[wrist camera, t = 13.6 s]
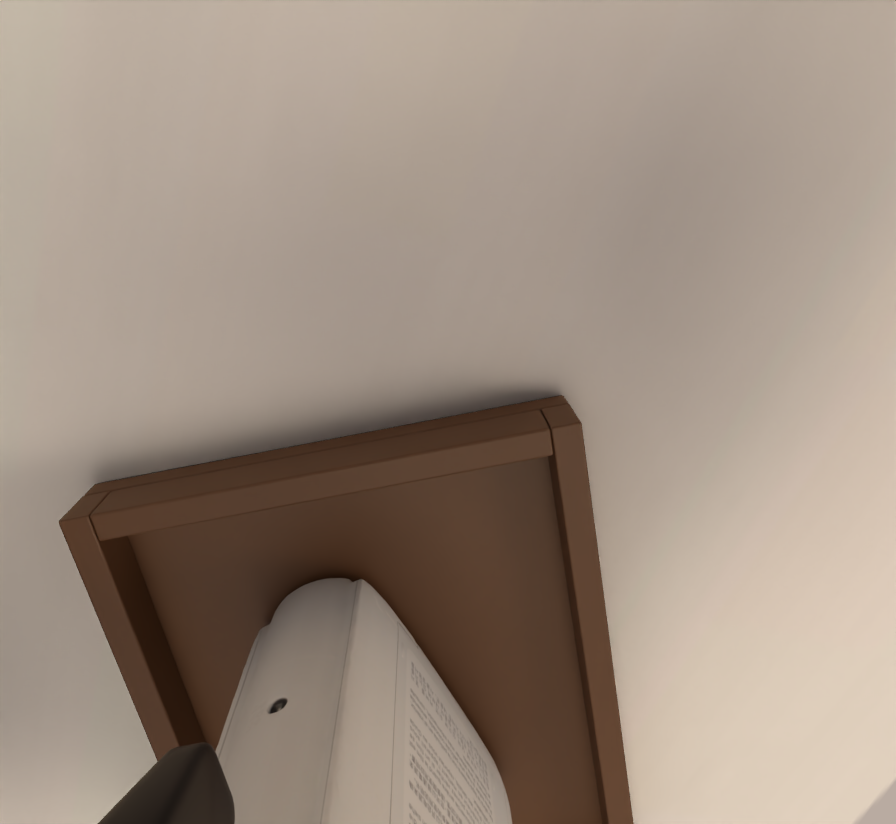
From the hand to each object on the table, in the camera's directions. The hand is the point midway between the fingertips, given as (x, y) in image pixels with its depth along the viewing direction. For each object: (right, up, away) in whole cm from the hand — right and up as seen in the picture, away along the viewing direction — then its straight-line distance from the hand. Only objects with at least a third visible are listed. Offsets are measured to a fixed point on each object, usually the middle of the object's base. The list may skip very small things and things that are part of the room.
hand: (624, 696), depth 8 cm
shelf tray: (-4, -6, +16) cm, 17 cm away
